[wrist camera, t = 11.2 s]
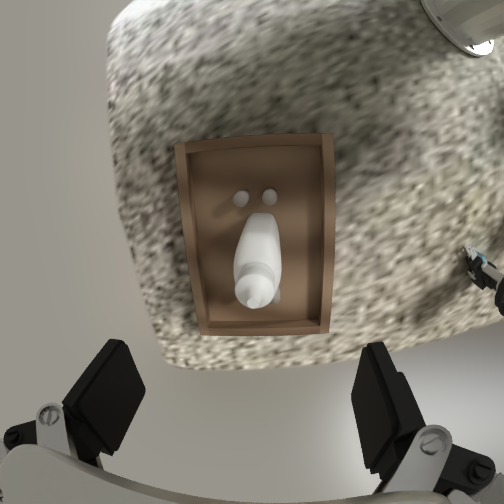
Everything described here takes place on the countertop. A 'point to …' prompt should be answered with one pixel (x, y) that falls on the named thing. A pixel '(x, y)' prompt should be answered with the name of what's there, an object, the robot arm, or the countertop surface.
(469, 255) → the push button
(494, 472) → the robot arm
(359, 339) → the countertop surface
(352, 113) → the countertop surface
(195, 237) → the pin tray
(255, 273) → the eye dropper bottle
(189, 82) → the countertop surface
